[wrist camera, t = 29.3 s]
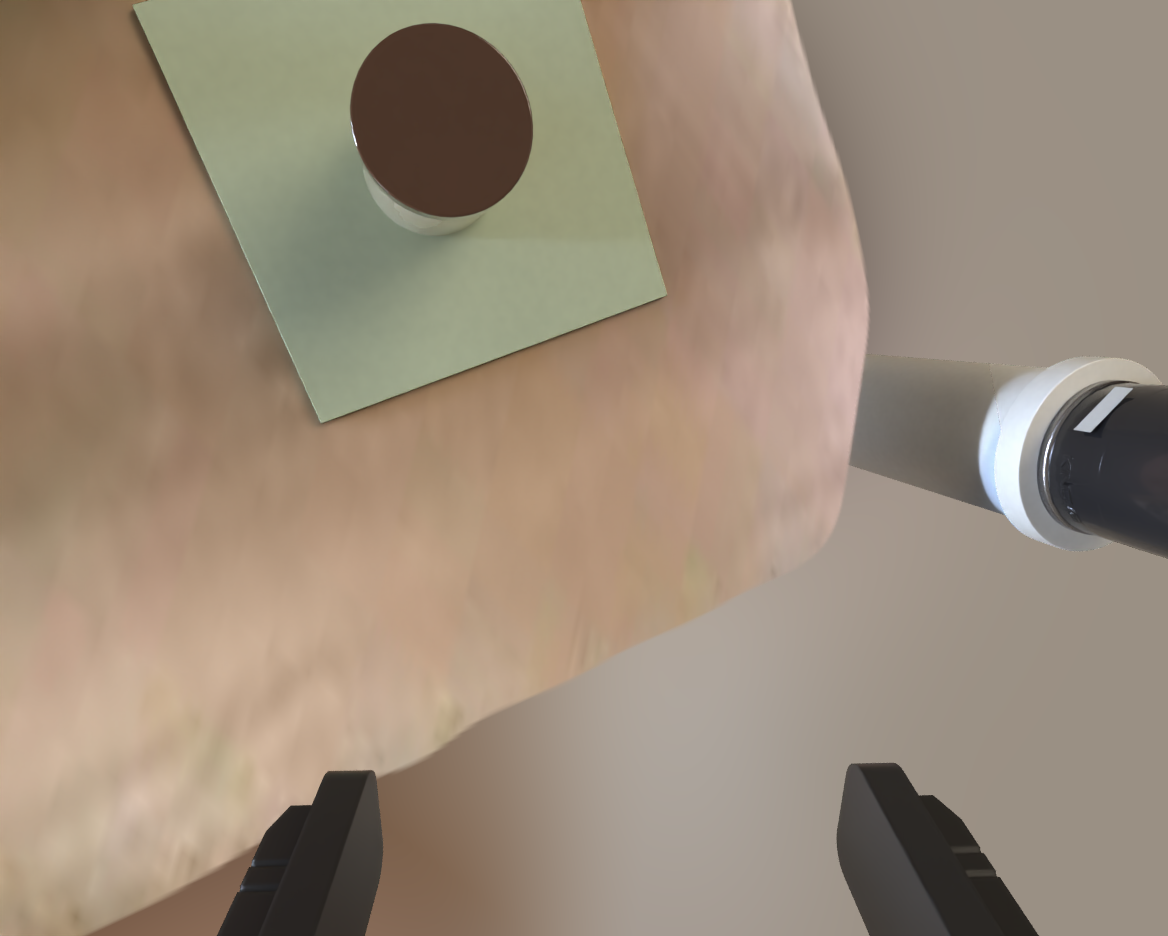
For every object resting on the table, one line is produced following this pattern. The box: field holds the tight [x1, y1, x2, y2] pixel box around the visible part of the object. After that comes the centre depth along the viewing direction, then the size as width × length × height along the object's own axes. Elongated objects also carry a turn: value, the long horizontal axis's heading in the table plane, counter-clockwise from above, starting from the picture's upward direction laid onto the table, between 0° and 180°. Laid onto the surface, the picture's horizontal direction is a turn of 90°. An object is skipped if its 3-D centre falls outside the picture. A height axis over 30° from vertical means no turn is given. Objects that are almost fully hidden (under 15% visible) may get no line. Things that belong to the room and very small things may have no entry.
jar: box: [350, 23, 533, 236], centre depth 29 cm, size 6×6×8 cm
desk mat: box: [133, 0, 667, 423], centre depth 33 cm, size 18×18×1 cm
